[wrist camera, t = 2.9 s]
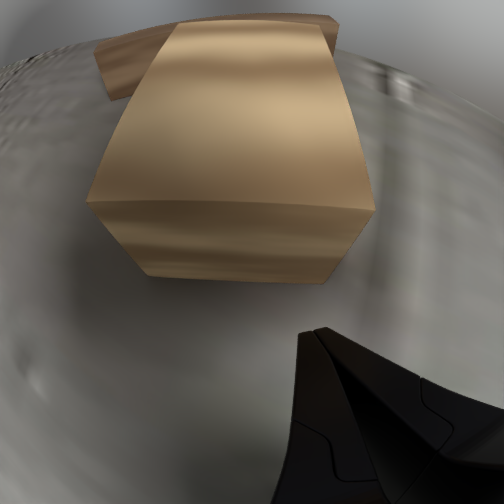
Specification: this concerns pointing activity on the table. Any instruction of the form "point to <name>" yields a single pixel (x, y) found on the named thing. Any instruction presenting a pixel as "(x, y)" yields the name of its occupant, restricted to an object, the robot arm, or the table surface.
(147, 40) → the walnut board
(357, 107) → the table surface
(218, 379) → the table surface
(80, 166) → the table surface
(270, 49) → the oak block
